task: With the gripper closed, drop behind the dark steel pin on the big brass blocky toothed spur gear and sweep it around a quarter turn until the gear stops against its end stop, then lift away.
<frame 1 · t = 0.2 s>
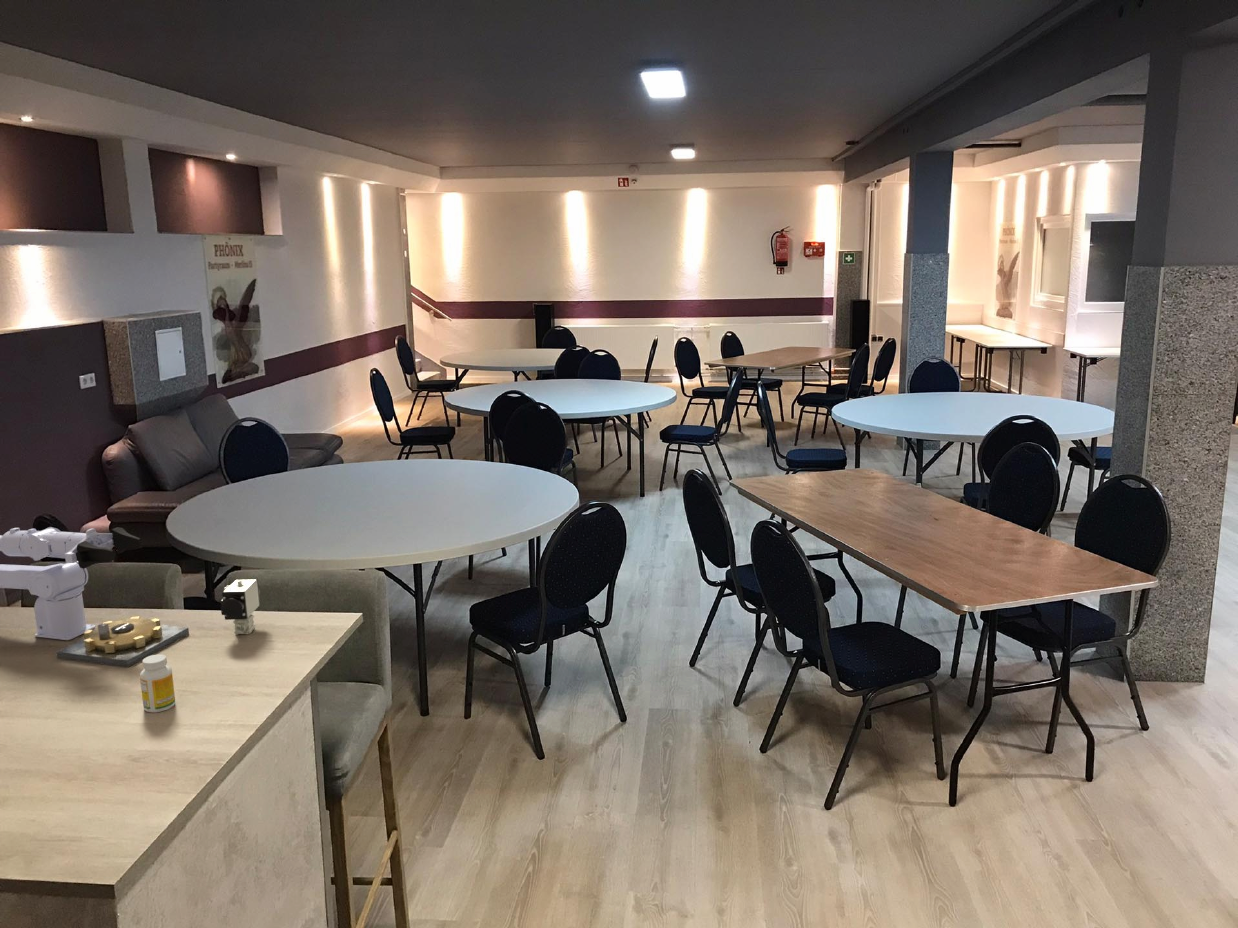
hand: (127, 549, 205), 21 cm above the table, tool horizontal, fingers open, 7 cm apart
supplement bottle: (160, 707, 179), on the table
pneumatic valve: (243, 632, 214), on the table
cap plate: (125, 645, 207), on the table
blocky toothed spur gear: (122, 627, 207), point 4 cm above the table, hinge at 0.0°
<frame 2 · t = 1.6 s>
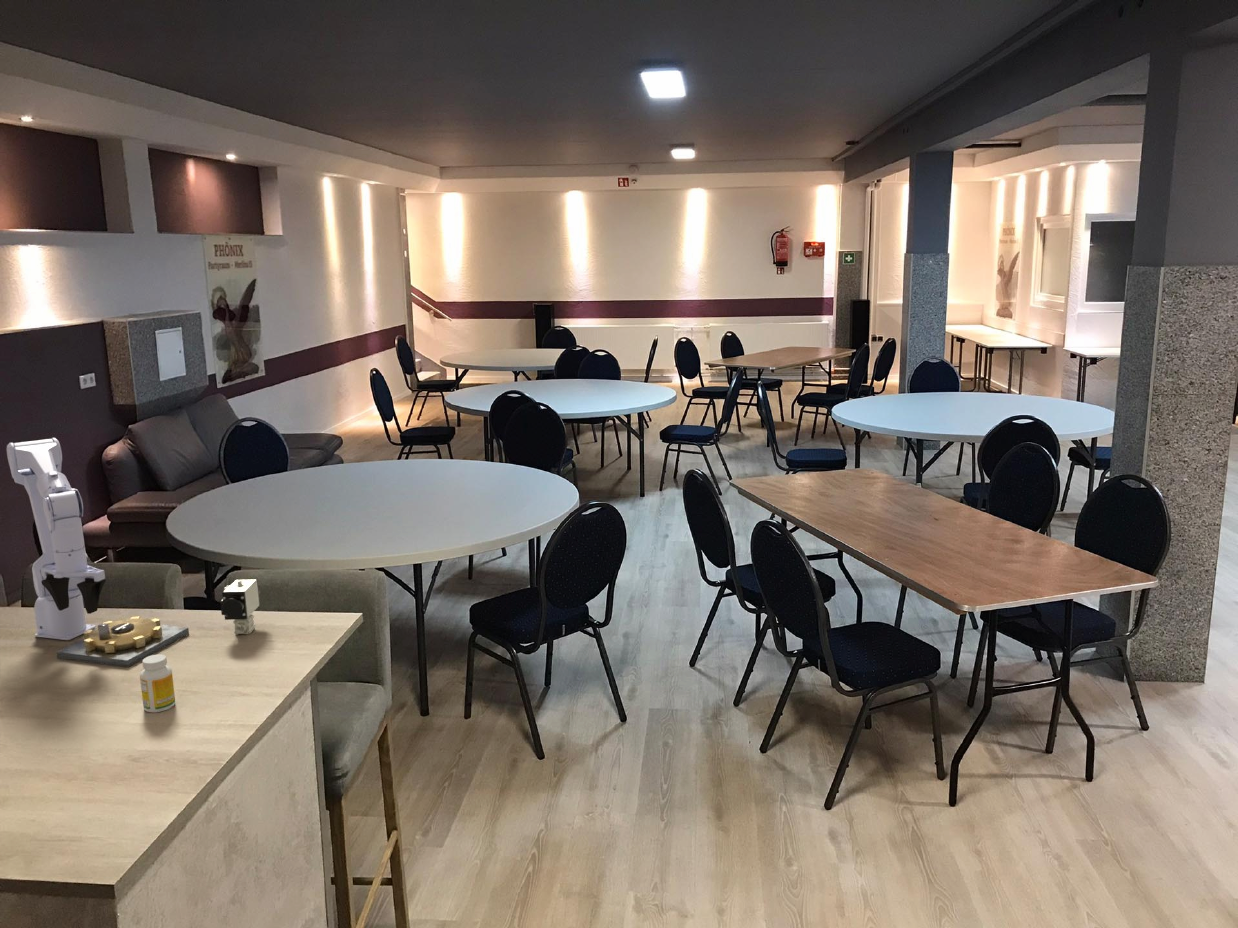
hand: (78, 610, 202), 9 cm above the table, tool pointing down, fingers open, 7 cm apart
nothing on the table moved.
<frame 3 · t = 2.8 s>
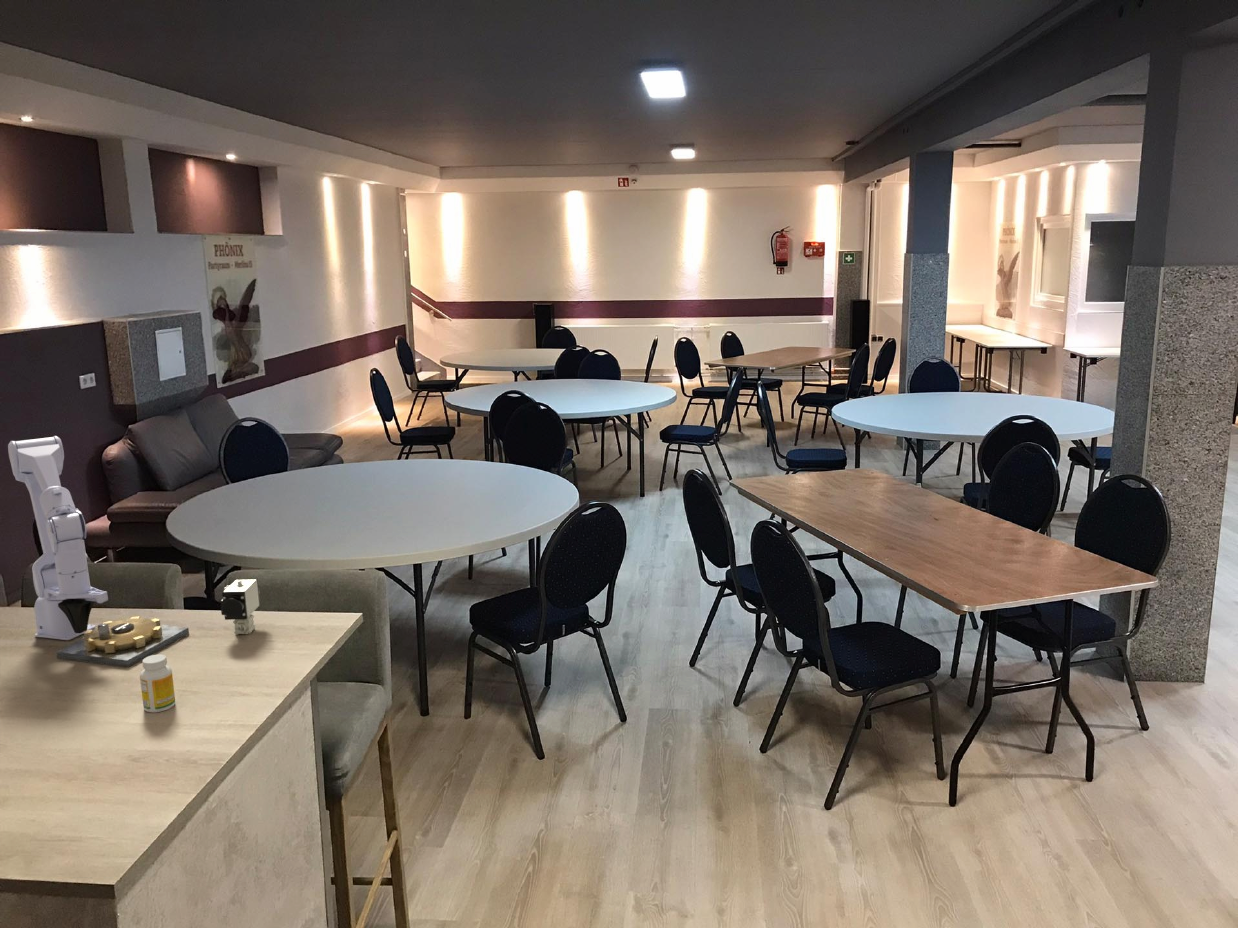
hand: (81, 631, 203), 5 cm above the table, tool pointing down, fingers closed
nothing on the table moved.
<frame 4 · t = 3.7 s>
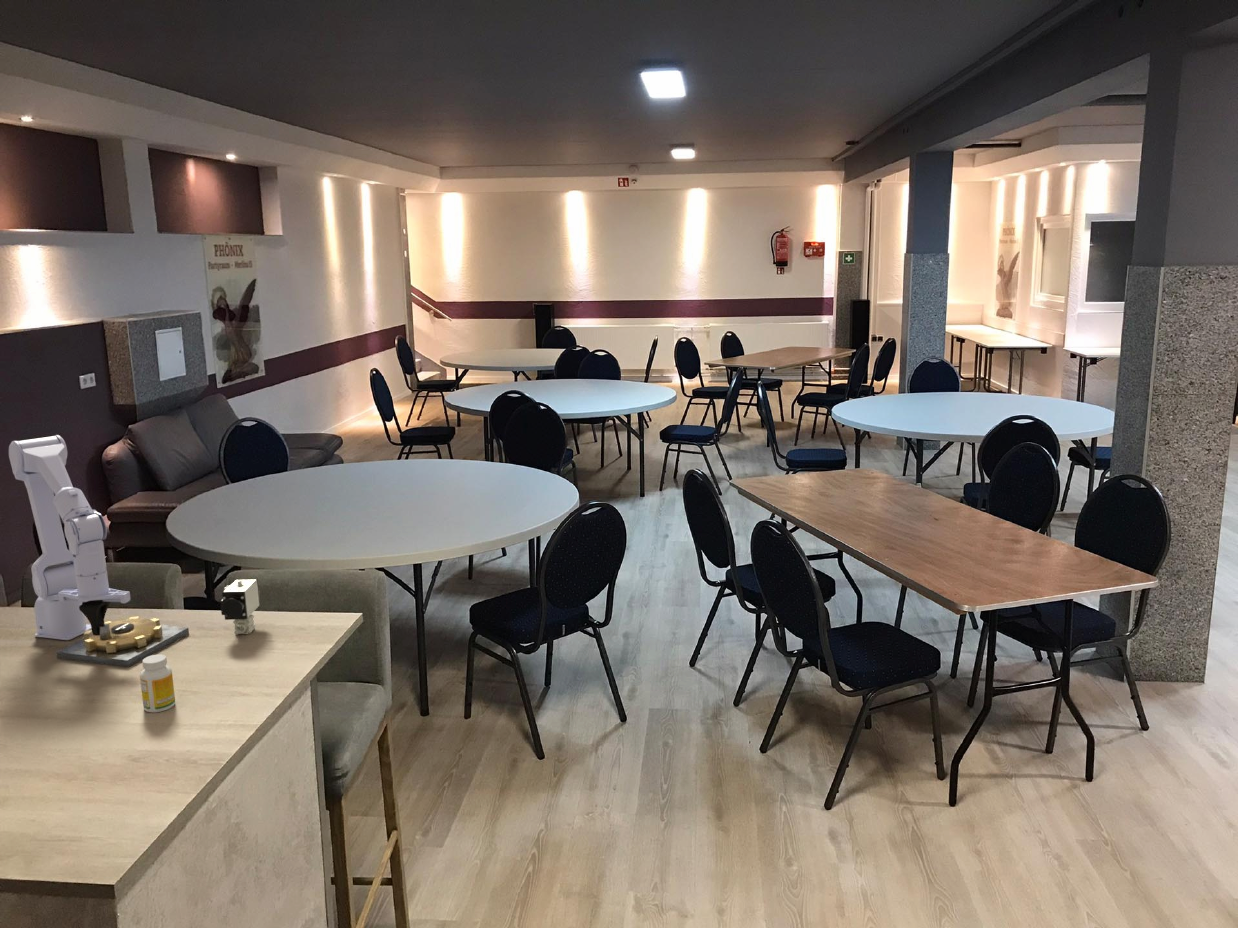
hand: (99, 633, 202), 5 cm above the table, tool pointing down, fingers closed, pressing on blocky toothed spur gear
blocky toothed spur gear: (122, 627, 207), point 4 cm above the table, hinge at 2.1°, touching gripper
everything else where it was.
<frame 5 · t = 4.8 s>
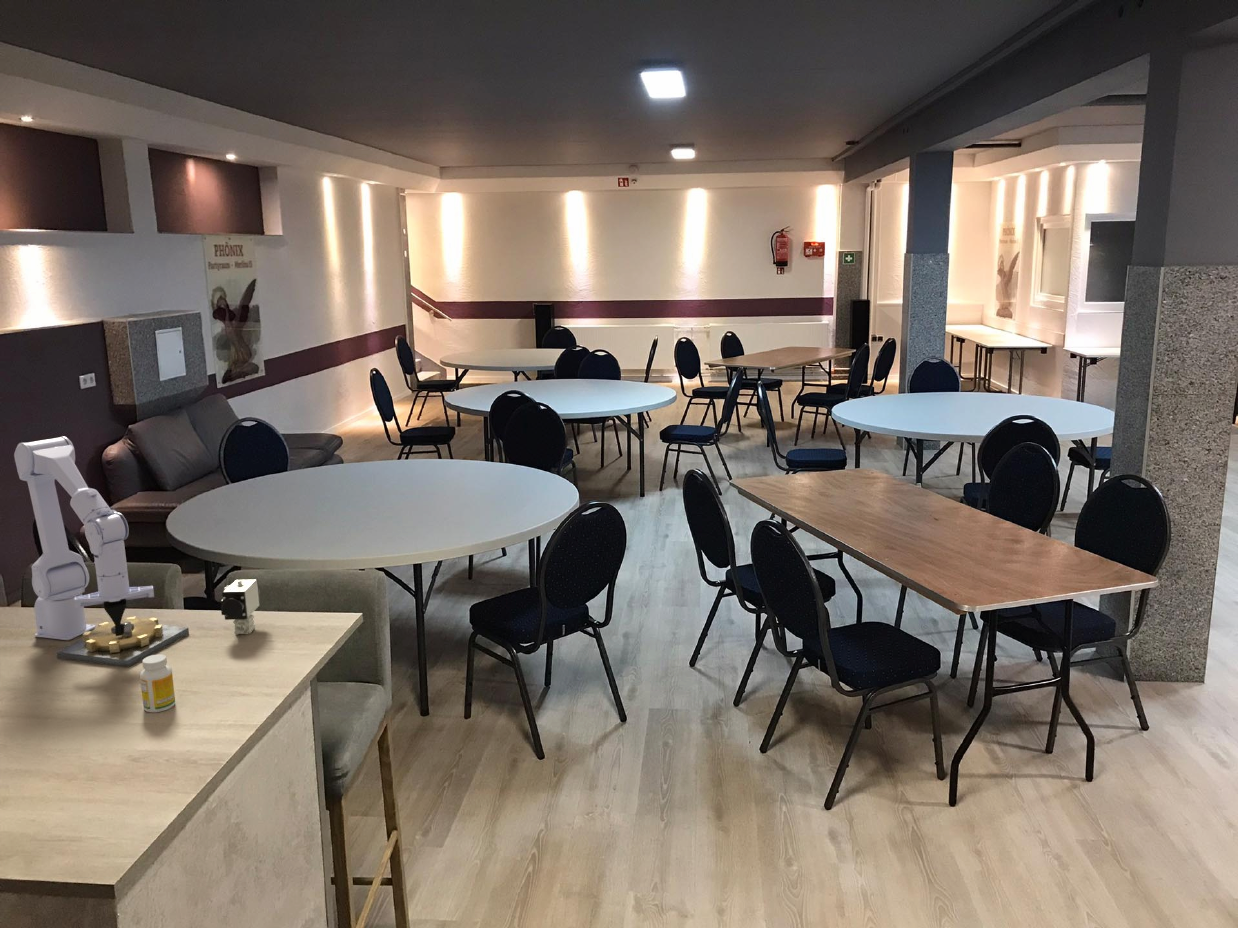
hand: (119, 634, 202), 5 cm above the table, tool pointing down, fingers closed, pressing on blocky toothed spur gear
blocky toothed spur gear: (122, 627, 207), point 4 cm above the table, hinge at 52.2°, touching gripper
everything else where it was.
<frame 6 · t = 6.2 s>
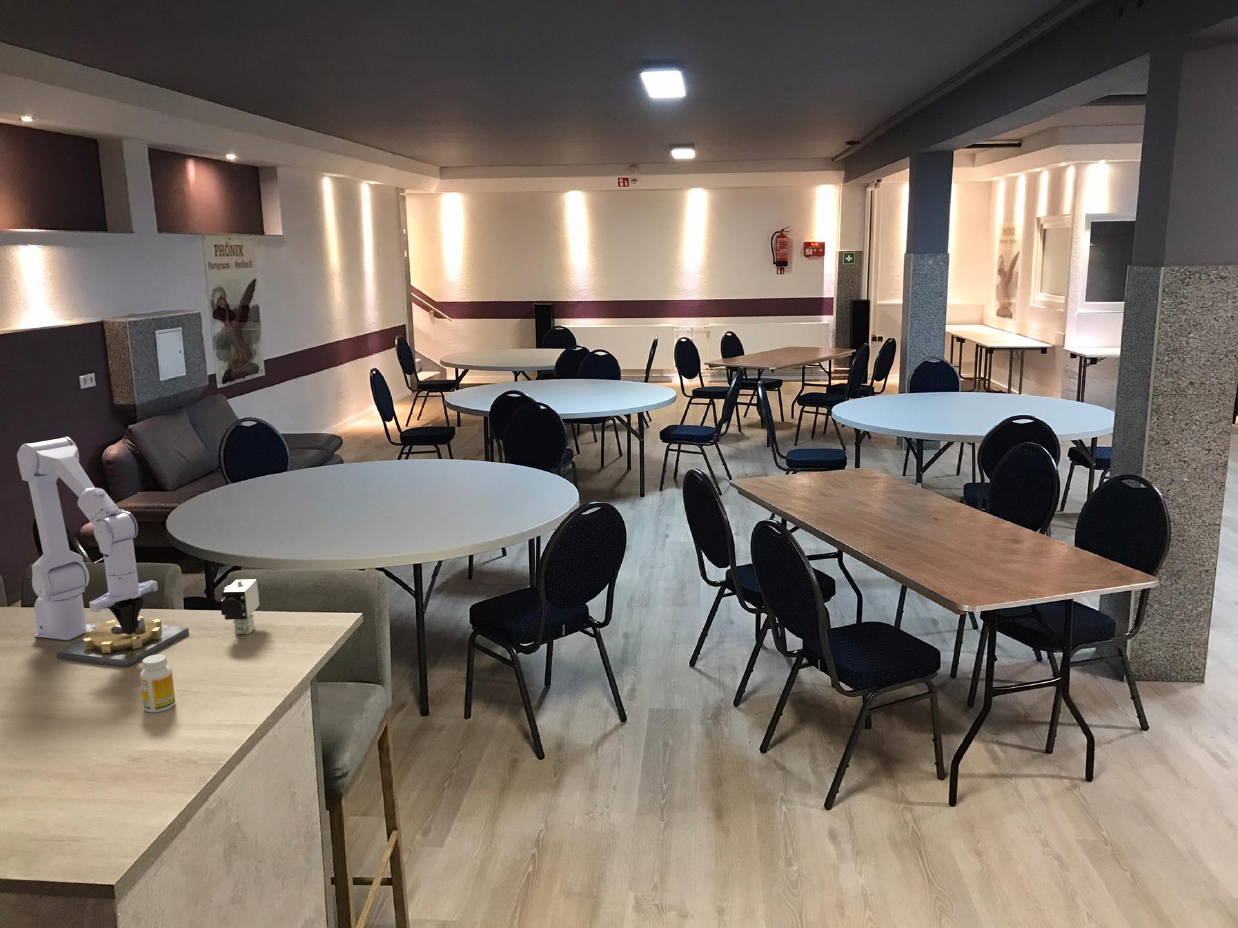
hand: (129, 632, 202), 5 cm above the table, tool pointing down, fingers closed
blocky toothed spur gear: (122, 627, 207), point 4 cm above the table, hinge at 84.7°
everything else where it was.
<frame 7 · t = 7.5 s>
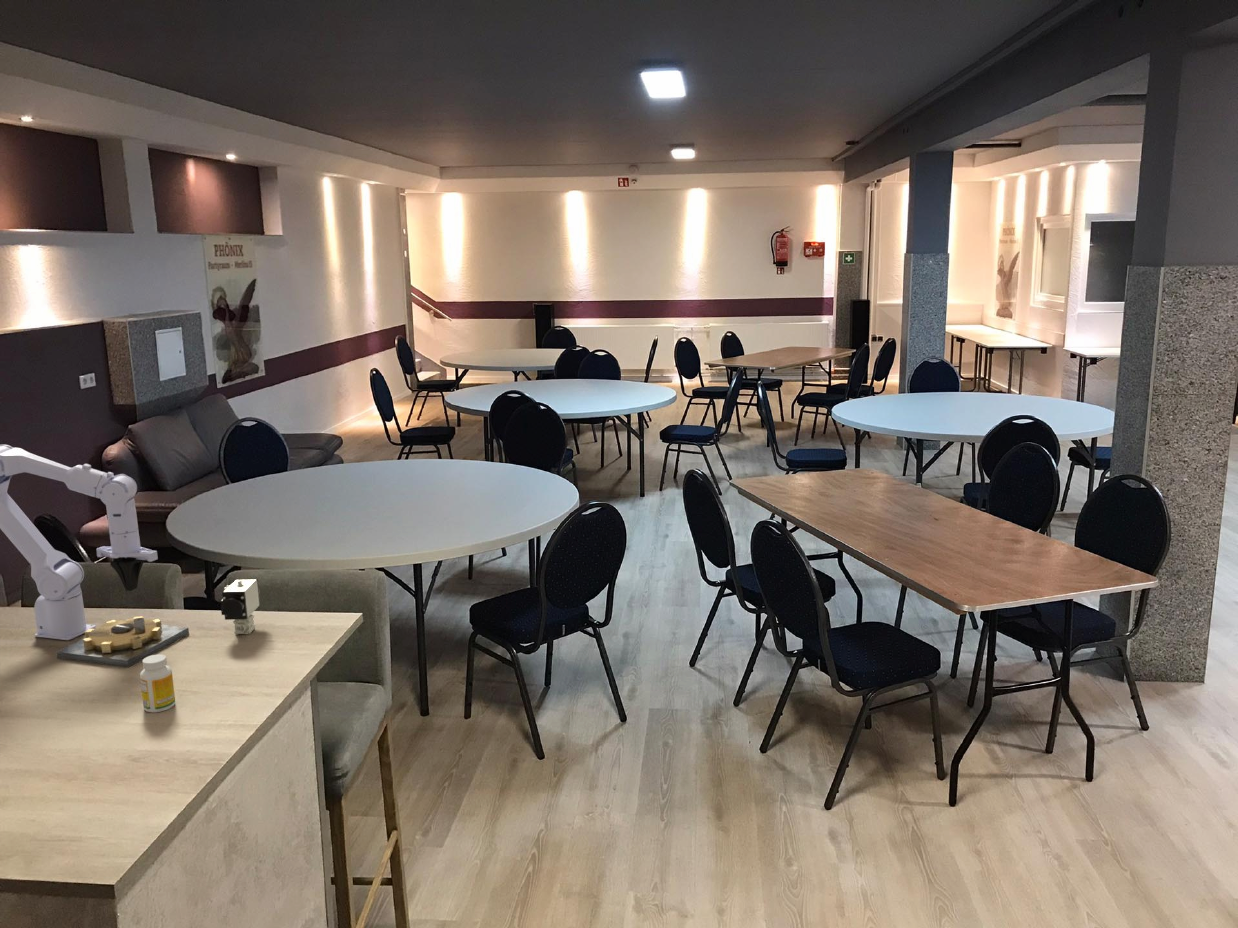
hand: (131, 589, 215), 9 cm above the table, tool pointing down, fingers closed
nothing on the table moved.
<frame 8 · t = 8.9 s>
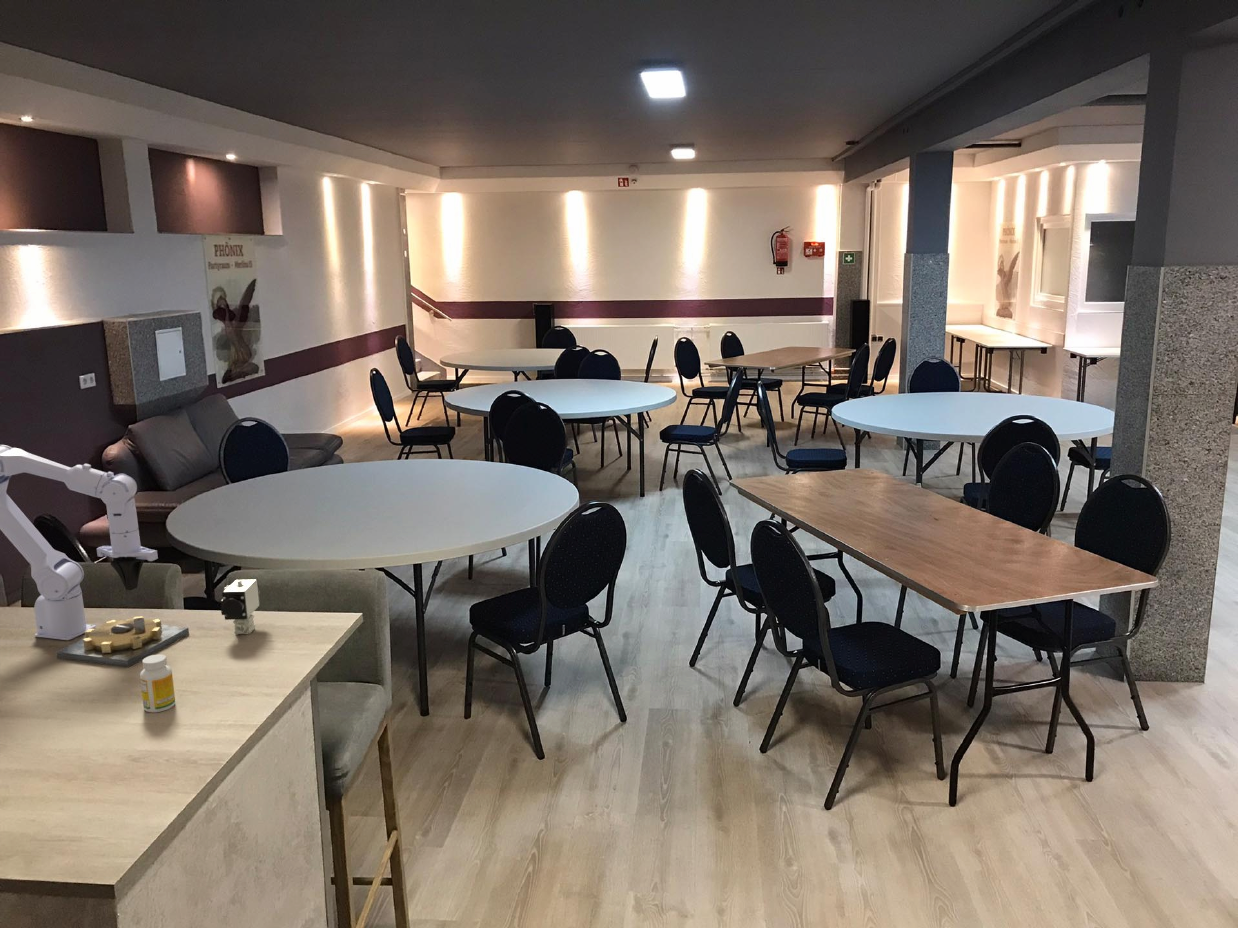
hand: (131, 588, 215), 9 cm above the table, tool pointing down, fingers closed
nothing on the table moved.
at the end: blocky toothed spur gear at +85° (first picture: +0°) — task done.
